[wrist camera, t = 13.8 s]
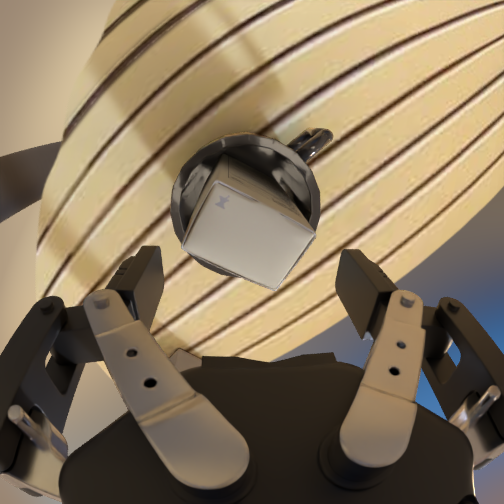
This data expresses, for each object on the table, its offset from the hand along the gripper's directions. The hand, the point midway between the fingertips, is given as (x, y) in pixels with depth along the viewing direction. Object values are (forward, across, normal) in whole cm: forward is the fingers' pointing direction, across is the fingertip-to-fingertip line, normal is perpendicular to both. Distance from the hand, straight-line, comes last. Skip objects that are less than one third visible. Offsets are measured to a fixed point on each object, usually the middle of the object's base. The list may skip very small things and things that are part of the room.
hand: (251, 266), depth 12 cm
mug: (+16, -1, -1) cm, 16 cm away
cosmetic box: (+15, 0, 0) cm, 15 cm away
